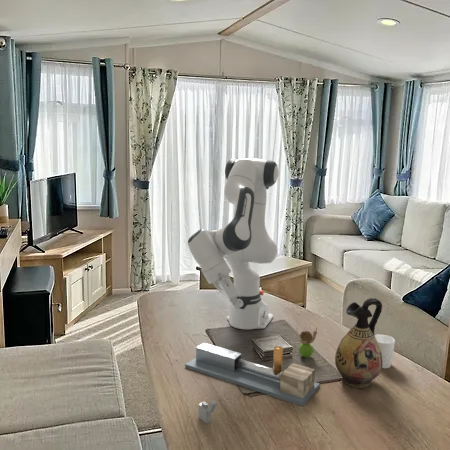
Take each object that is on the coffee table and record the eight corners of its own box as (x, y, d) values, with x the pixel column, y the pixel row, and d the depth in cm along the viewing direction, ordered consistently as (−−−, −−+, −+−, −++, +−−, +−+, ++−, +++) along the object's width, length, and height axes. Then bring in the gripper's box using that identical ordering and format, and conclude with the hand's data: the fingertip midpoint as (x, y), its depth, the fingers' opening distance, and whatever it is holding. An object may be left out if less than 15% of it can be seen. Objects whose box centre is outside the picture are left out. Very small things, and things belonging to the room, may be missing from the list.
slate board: (207, 352, 188) (207, 349, 188) (319, 386, 165) (319, 383, 164) (185, 367, 176) (185, 364, 176) (302, 406, 153) (302, 402, 153)
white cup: (392, 361, 184) (395, 336, 182) (392, 371, 176) (394, 344, 174) (370, 357, 186) (372, 332, 184) (369, 367, 179) (371, 341, 177)
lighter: (198, 417, 146) (198, 392, 145) (202, 415, 147) (203, 390, 146) (212, 428, 141) (212, 403, 139) (217, 426, 142) (217, 401, 140)
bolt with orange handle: (234, 363, 175) (235, 333, 173) (295, 382, 163) (297, 350, 161) (229, 367, 172) (230, 337, 170) (291, 386, 160) (293, 354, 158)
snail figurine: (315, 361, 183) (317, 330, 180) (297, 359, 184) (299, 328, 181) (315, 354, 188) (317, 325, 185) (298, 352, 189) (300, 323, 187)
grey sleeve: (203, 355, 183) (203, 342, 182) (241, 366, 175) (241, 353, 174) (196, 360, 179) (196, 347, 178) (233, 372, 171) (234, 359, 170)
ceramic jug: (348, 396, 159) (354, 308, 153) (326, 373, 174) (331, 292, 168) (394, 389, 164) (402, 303, 158) (369, 368, 178) (375, 288, 172)
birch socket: (291, 379, 167) (292, 363, 166) (314, 385, 163) (314, 369, 162) (280, 390, 159) (280, 374, 158) (303, 398, 155) (304, 381, 154)
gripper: (229, 269, 162) (251, 305, 162) (222, 268, 182) (241, 301, 182) (213, 279, 161) (234, 315, 161) (207, 277, 181) (226, 310, 181)
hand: (238, 307), depth 172 cm, fingers closed
